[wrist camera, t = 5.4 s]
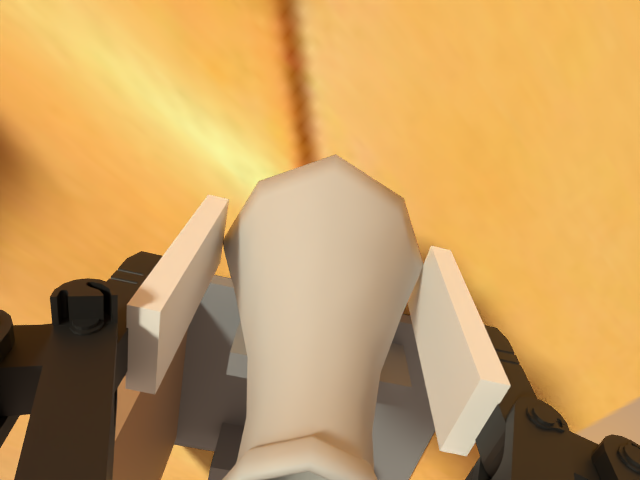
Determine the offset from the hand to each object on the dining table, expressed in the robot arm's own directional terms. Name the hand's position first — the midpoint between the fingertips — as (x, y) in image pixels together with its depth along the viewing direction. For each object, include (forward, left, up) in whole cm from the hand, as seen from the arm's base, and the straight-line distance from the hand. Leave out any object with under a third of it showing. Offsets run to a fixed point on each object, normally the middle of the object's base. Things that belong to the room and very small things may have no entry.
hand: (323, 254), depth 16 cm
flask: (0, 0, -1) cm, 1 cm away
